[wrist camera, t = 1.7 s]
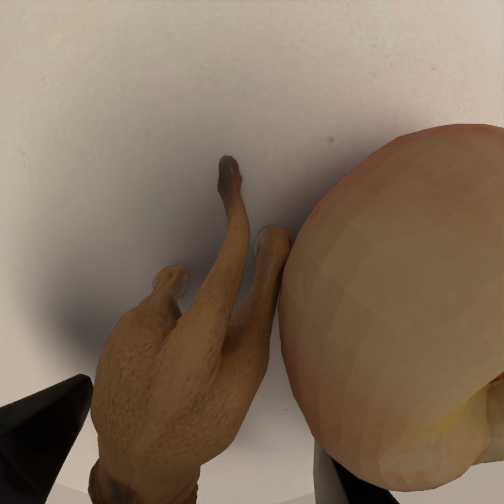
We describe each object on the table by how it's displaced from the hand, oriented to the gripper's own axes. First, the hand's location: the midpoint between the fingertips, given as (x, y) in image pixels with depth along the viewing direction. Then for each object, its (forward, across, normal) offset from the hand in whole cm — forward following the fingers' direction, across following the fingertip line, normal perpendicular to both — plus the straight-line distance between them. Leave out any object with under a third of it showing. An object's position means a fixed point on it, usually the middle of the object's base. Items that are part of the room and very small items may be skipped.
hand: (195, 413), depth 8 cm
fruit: (+3, -6, -5) cm, 9 cm away
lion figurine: (+3, 0, 0) cm, 3 cm away
